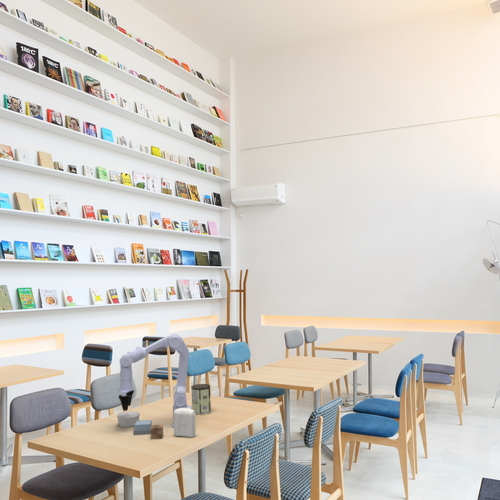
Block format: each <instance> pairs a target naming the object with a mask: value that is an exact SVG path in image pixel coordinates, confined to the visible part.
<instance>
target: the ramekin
mask: <svg viewBox="0 0 500 500" xmlns="http://www.w3.org/2000/svg"><path fill="white" fill-rule="evenodd" d="M140 415H141V413H140V412H139V411H135V410H127V411H123V412H120V413H117V414H116V418H117V423H118V426H119V427H121V428H131V427H135V423H136V421H138V420H140Z"/></svg>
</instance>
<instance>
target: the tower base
mask: <svg viewBox="0 0 500 500" xmlns="http://www.w3.org/2000/svg"><path fill="white" fill-rule="evenodd" d="M151 427H152V426H151ZM132 435H133V436H143V435H145V436H146V435H147V436H149V435H151V428H150V430H135V427H134V429H133V430H132Z"/></svg>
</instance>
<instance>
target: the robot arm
mask: <svg viewBox="0 0 500 500" xmlns="http://www.w3.org/2000/svg"><path fill="white" fill-rule="evenodd" d="M168 347H170V348H171V349H173V350H174V351H176V352H177V354H179V359H178V367H177V368H178V369H177V377H176V378H177V380H176V387H175V392H174V393H173V405H172V424H171V427H172V428H174V411H175V410H176V409H179V408H189V409H192V405H188V403H187V400H188V399H187V395H186V388H187V378H188V377H187V376H188V367H189V355H190V350H189V348H188V346H187V344H186V343H185V340H184V339H183V337H181V335H179V334H177V333H173V334H171V335H170V336H169V335H168V336H165V337H162V338H160V339H158V340H157V341H155V342H152V343H151V344H150V345H147V346H146V347H144V346H136V348H135V349H133V350H132V351H128V352H127V353H126V354H123V355H121V357H120V359H119V368H120V370H119V380H120V381H119V383H120V385H119V387H120V388H118V389H117V391H118V392H121V394H119V395H118V399H119V400H120V403H121V409H122V410H123V411H129V407H131V404H132V399H133V395H134V392H135V390H134V389H133V367H132V364H135V363H137V362H140V361H142V360H143V359H145V358H147V356H148V354H149V353H152V352H154V351H156V350H158V349H160V348H168Z"/></svg>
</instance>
